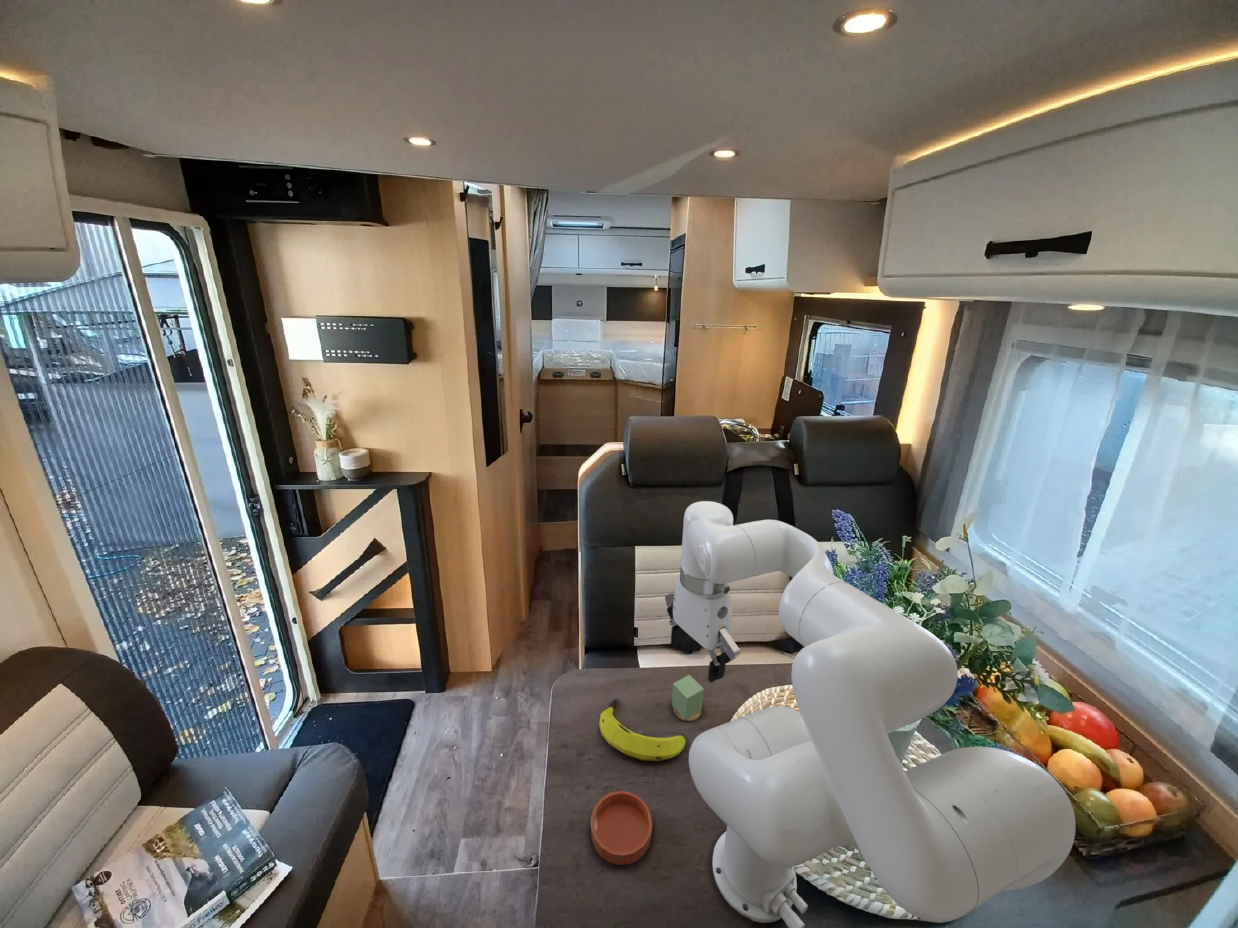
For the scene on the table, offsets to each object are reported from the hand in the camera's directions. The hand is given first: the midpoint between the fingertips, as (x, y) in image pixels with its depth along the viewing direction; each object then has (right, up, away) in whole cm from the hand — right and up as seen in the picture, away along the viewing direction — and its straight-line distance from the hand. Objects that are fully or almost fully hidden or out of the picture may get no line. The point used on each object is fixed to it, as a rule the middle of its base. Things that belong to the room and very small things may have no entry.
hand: (696, 660), depth 84 cm
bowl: (-13, -27, -4) cm, 31 cm away
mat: (+1, -19, +19) cm, 27 cm away
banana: (-9, -21, +14) cm, 27 cm away
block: (+1, -18, +19) cm, 27 cm away
